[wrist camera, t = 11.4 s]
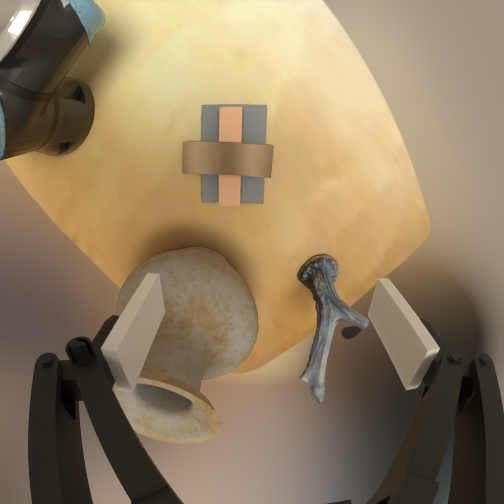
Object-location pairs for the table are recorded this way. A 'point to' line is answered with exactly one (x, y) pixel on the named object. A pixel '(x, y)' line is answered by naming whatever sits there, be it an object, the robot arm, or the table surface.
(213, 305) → the vase
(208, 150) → the walnut bar
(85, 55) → the table surface
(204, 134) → the ridge block
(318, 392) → the antler
